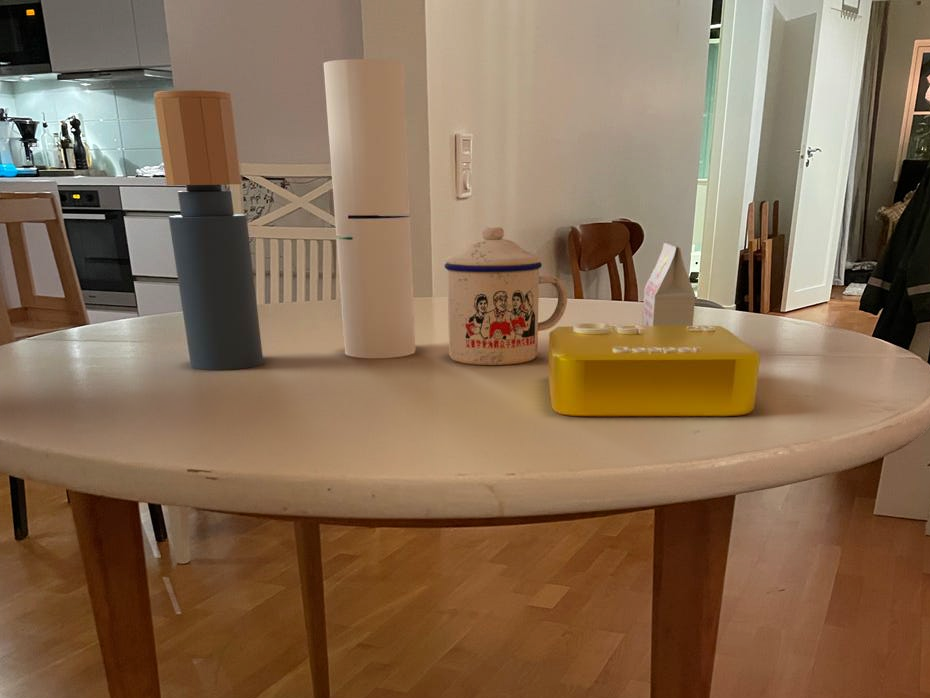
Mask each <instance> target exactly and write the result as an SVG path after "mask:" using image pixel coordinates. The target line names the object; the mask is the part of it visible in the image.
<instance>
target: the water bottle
mask: <svg viewBox="0 0 930 698" xmlns="http://www.w3.org/2000/svg"><path fill="white" fill-rule="evenodd" d="M185 186H186V190H179V191H177V197H178V202H179V210H180V215H170V216H168V222H169V229H170V236H171V243H172V249H173V255H174V262H175V270H176V275H177V282H178V289H179V295H180V302H181V309H182V314H183V315H182V316H183V322H184V329H185V336H186V341H187V348H188V349H187V350H188V357H189V363H190V366H191V368H192V369H196V370H202V371H235V370H243V369H249V368H254V367H257V366H258V367H259V366H260V365H262V364H263V363H264V356H263V348H262V339H261V330H260V329H261V328H260V321H259V312H258V303H257V294H256V286H255V278H254V270H253V259H252V251H251V243H250V234H249V226H248V225H249V224H248V216H247V214H241V213H240V214H237V213H235V212H234V204H233V203H234V202H233V196H232V190H223V188H222V185H185Z"/></svg>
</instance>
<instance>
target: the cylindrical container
mask: <svg viewBox="0 0 930 698" xmlns="http://www.w3.org/2000/svg"><path fill="white" fill-rule="evenodd" d="M404 64H405V63H404V62H402V61H398V60H392V59H391V60H390V59H379V58H378V59H377V58H375V59H373V58H359V59H358V58H351V59H337V60H335V59H334V60H328V61H325V62H323V75H324V76H323V77H324V89H325V101H326V115H327V128H328V141H329V142H328V143H329V155H330V169H331V182H332V197H333V211H334V223H335V236H338V237H336V248H337V264H338V265H337V266H338V277H339V289H340V301H341V302H340V303H341V316H342V329H343V343H344V344H343V345H344V355H346V356H348V357H352V358H360V359H390V358H391V359H392V358H400V357H406V356H410V355H413V354H415V353H416V333H415V332H416V331H415V329H416V328H415V309H414V308H415V306H414V287H413V286H414V284H413V283H414V282H413V281H414V280H413V260H412V257H413V256H412V238H411V237H412V234H411V216H409V214H410V213H411V211H410V188H409V185H410V184H409V163H408V162H409V161H408V141H407V140H408V138H407V113H406V112H407V111H406V91H405V90H406V89H405V88H406V87H405V66H404Z"/></svg>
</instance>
